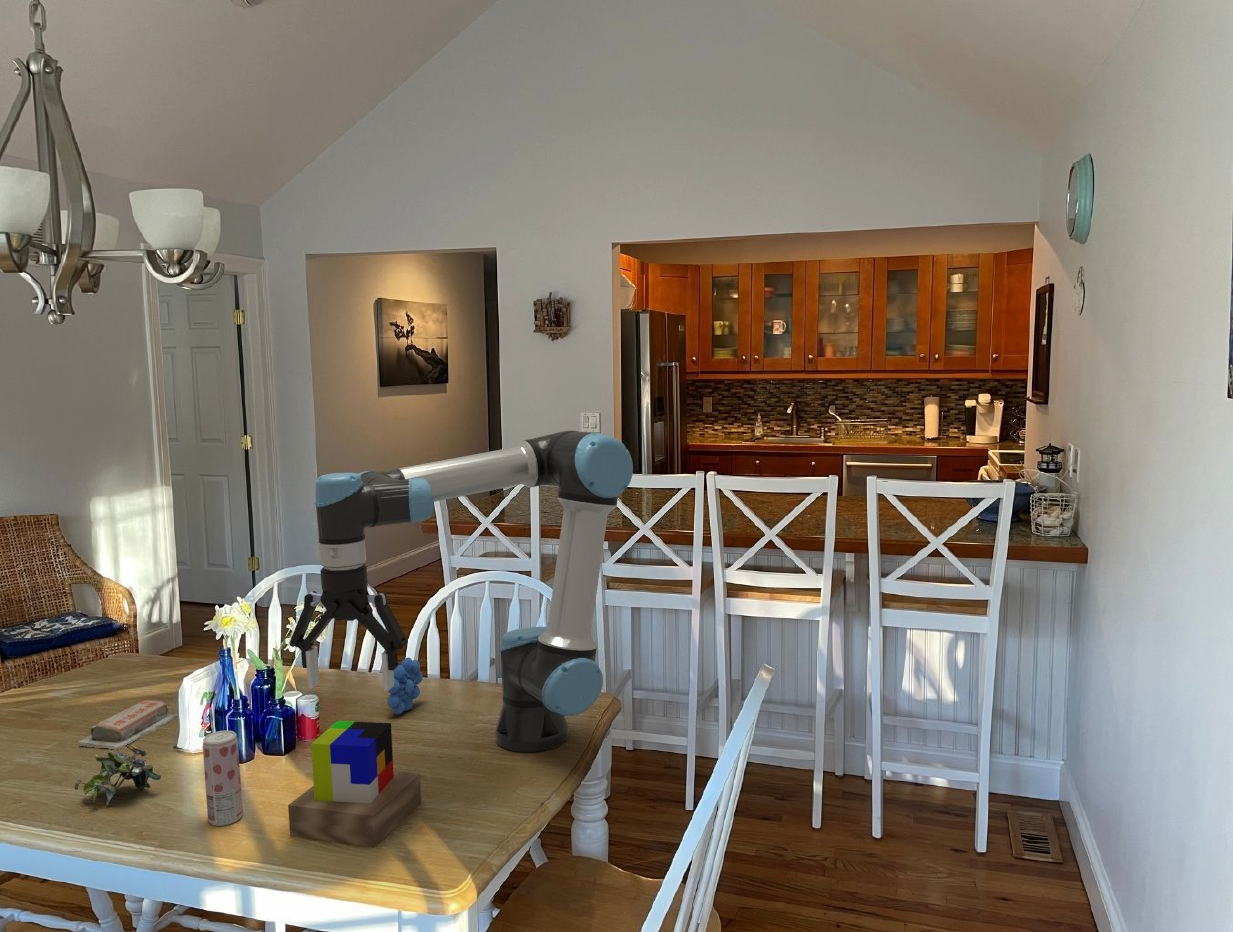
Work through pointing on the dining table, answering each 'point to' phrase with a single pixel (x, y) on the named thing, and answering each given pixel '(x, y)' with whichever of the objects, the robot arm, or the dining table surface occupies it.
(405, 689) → the grapes
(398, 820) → the walnut block
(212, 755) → the beverage can
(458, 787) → the dining table surface
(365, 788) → the puzzle toy
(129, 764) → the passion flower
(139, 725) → the packaged product
